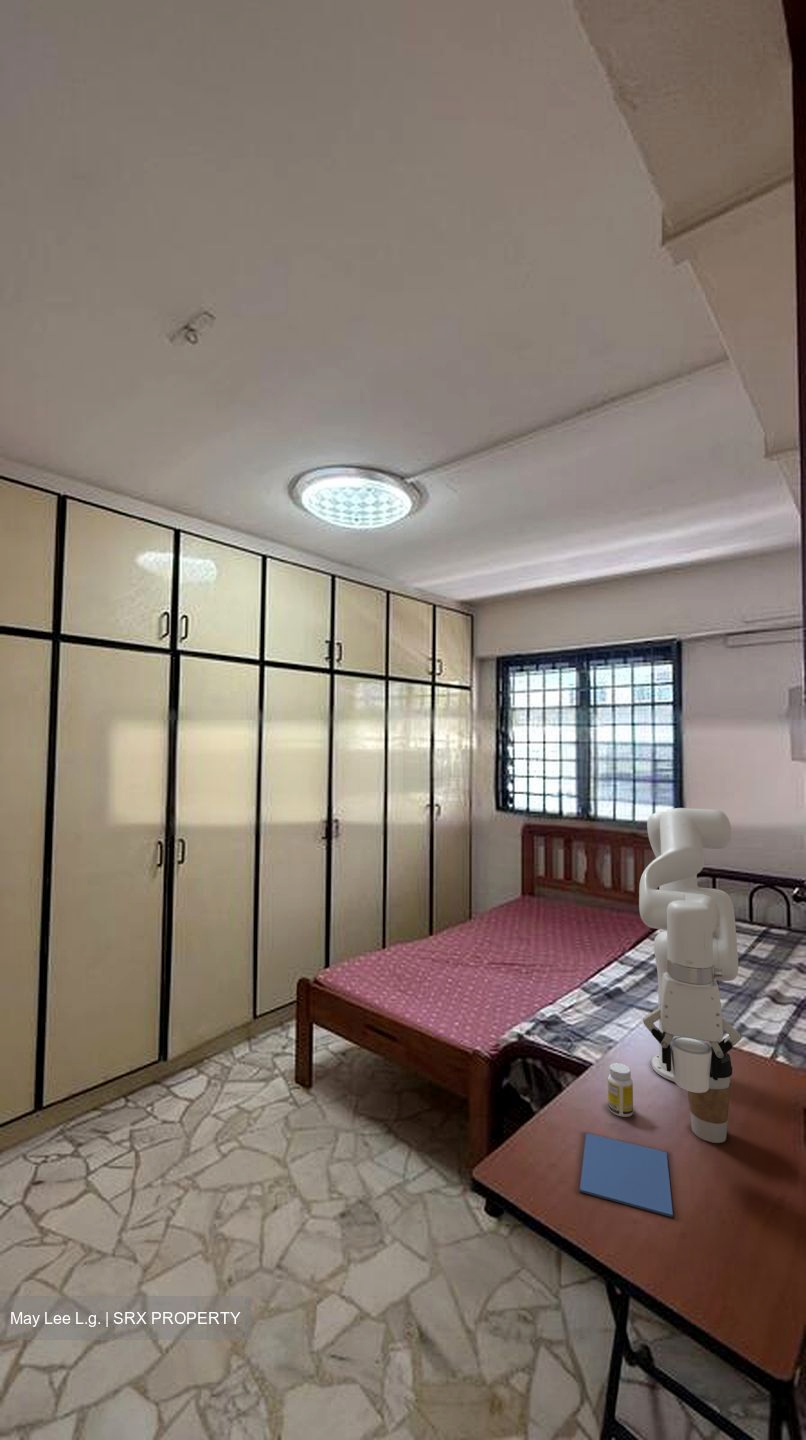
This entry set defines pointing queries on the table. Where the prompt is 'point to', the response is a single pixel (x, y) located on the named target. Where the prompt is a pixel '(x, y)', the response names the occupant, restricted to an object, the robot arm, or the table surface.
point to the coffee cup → (712, 1106)
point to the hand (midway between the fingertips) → (691, 1071)
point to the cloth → (626, 1174)
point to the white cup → (691, 1063)
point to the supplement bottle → (620, 1090)
